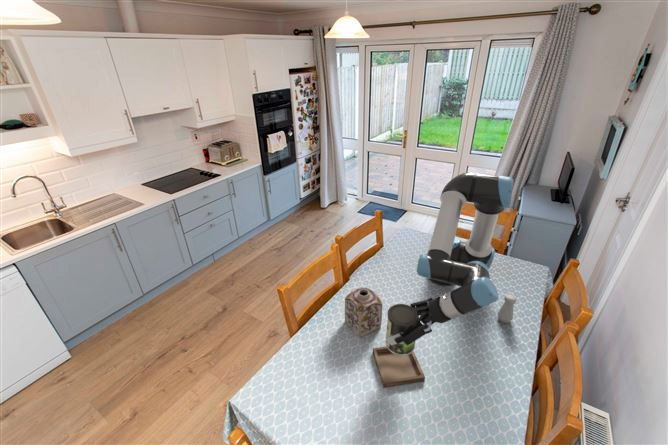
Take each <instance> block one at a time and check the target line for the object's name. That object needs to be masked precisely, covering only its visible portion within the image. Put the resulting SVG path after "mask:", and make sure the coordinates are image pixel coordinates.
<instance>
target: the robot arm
mask: <svg viewBox="0 0 668 445" xmlns="http://www.w3.org/2000/svg"><path fill="white" fill-rule="evenodd" d="M513 187H514V179H513V178H512V177H510V176H506V175H505V176H504V175H502V174H501V175H496V174H486V173H480V172H473V171H471V172H469V171H468V172H463V173H460V174H458V175H456V176H455V177H453V178H451V179H450V180H449V182H447V183H446V185H445V186H444V187H443V188H442V191H441V194H440V199H439V200H440V202H441V203H440V207H439V211H438V214H437V218H436V221H435V226H434V228H433V232H432V235H431V238H430V243H429V247H428V250H427V254H425V253H424V254H420V255H419V258H418V259H417V260H418V261H417V266H416V274H417V275H418V276H420V277H423V278H426V279H428V280H429V281H430V282H432V283H434V284H436V285H439V286H442V287H443V286H446V287H449V286H452V285H453V286H457V288H455V289H452V290H451V291H449V292H445V293H444V294H442V295H440V296H438V297H435V298H432V297H430V298H427V299H424V300H421V301H415V302H412V303H410V305H409V306H411V307H413V308H414V309H415V310H416V311H417V312H418V315H419V318H418V319H417V320H416V321H417V322H416V323H415V324H413V325H412V326H411V327H410V328H409V329H408V330H406V331H405V332H404V333H402V332H401V333H399V334H396V335H394V336H391V337H389V338H387V339H386V338H385V341H386V340H387V341H388V343H389V344H390V345H391V346H392V345H394V344H398V343H401V342H404V343H405V344H406V345H409V344H411V343H412V342H414V341H415V342H416V341H417V340H419V339H421V338H422V337H424V336H425V335H427V334H431V333H432V332H433V329H432V328H431V327H432V326H433V325H434V324H436V323H439V324H444V323H446V322H447V323H448V321H451V320H454V319H457V318H460V317H461V316H464V315H467V314H469V313H472V312H474V311H477V310H480V309H482V308H486V307H488V306H490V305H491V304H493V303H496V302H497V301H498V300H499V297H500V296H499V295H500V294H499V293H498V290H497V287H496V286H495V284H494V282H493V281H492V280H491V279H490V277H491V275H490V270H489V269H490V268H491V266H492V264H493V261H494V258H495V252H496V250H495V248H494V247H493V245H492V244H491V242H492V239H493V236H494V231H495V228H496V226H497V222H498V218H499V214H501V213H503V212H504V211H505V209H510V208H511V204H512V199H513V198H512V197H513V196H512V195H513ZM466 203H472V204H473V207H474V209H475V214H474V218H473V224H472V228H471V231H470V236H469V237H470V238H469V239H467V240H466V241H462V240H461V238H460V237H459V236H457V230H458V226H459V221H460V218H461V214H462V208H463V207H464V206H466Z"/></svg>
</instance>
